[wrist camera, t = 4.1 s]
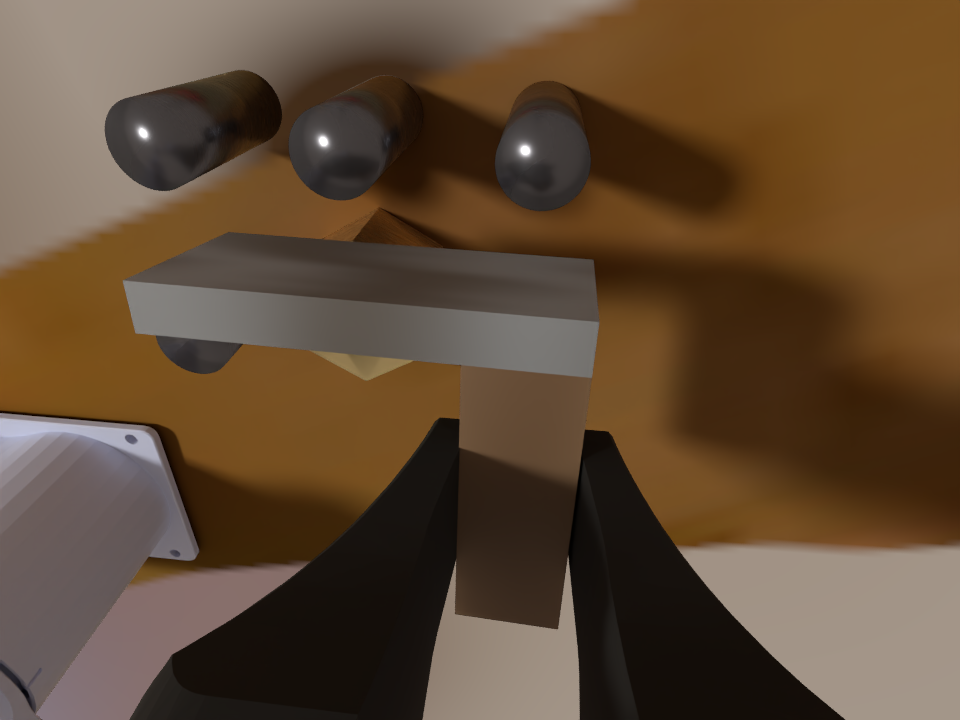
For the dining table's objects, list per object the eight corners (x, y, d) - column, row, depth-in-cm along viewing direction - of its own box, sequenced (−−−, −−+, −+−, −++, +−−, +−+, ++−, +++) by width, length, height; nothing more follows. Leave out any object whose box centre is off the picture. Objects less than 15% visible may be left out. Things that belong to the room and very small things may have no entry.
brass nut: (362, 345, 21) (337, 393, 19) (295, 252, 20) (257, 291, 17) (472, 295, 20) (461, 340, 17) (410, 190, 18) (387, 222, 16)
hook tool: (267, 480, 16) (194, 575, 13) (228, 232, 13) (123, 280, 10) (561, 517, 16) (557, 629, 12) (593, 259, 12) (599, 322, 9)
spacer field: (245, 293, 21) (167, 370, 16) (198, 68, 17) (79, 94, 13) (561, 314, 20) (562, 402, 16) (585, 82, 16) (596, 115, 12)
